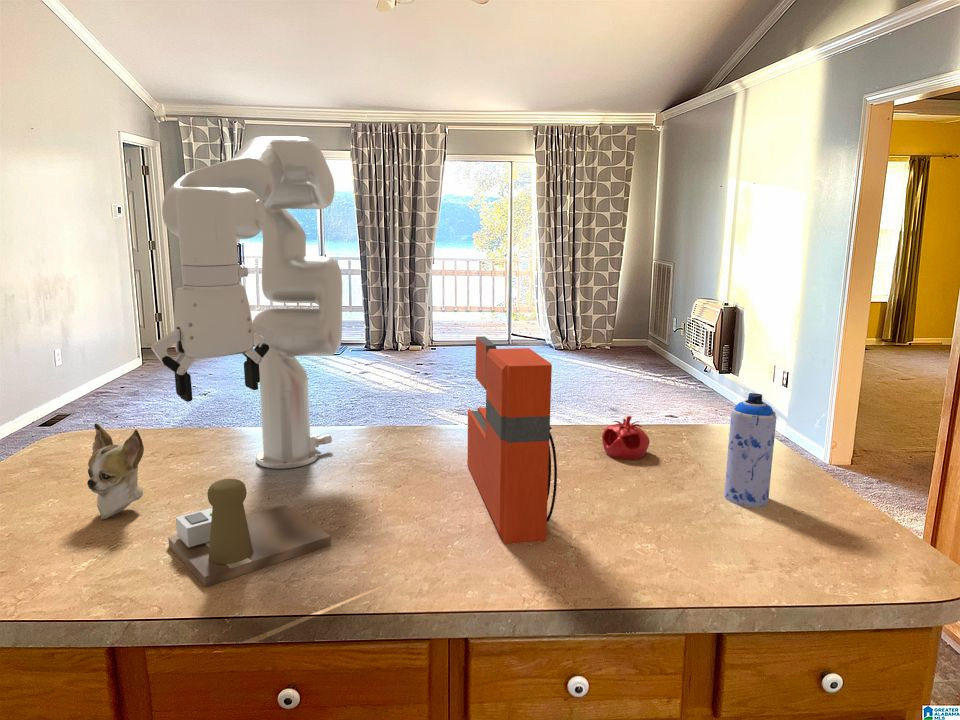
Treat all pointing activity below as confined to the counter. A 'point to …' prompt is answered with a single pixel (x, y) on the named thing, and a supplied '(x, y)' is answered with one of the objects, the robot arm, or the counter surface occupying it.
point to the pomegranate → (625, 440)
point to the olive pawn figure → (228, 522)
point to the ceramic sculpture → (114, 472)
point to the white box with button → (194, 527)
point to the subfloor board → (256, 545)
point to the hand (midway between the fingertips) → (220, 393)
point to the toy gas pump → (513, 440)
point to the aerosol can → (750, 452)
